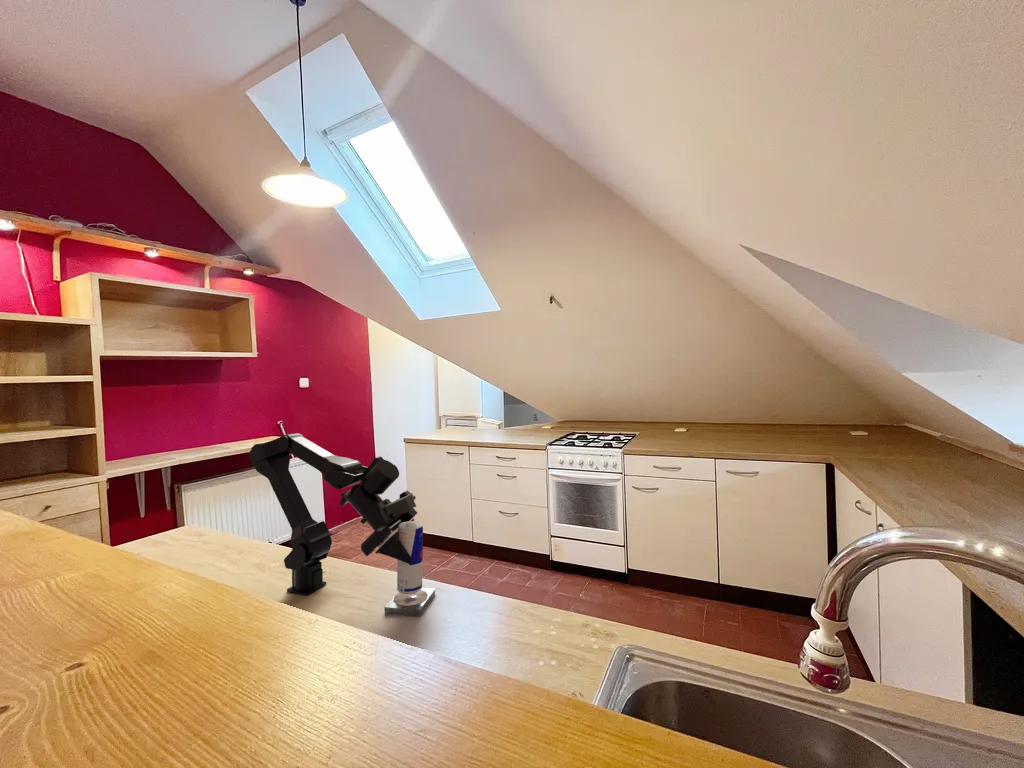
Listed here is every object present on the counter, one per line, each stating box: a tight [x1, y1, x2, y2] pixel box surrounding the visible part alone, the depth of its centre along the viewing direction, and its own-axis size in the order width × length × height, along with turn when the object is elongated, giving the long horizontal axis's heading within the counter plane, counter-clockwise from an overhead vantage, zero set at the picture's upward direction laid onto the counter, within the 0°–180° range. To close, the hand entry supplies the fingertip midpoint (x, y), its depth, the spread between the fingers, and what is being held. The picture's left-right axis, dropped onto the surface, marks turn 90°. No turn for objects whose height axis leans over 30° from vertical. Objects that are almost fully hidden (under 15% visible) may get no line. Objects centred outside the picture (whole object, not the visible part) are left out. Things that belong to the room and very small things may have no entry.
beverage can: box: [396, 520, 424, 594], centre depth 100 cm, size 6×6×15 cm
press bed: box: [384, 587, 436, 618], centre depth 100 cm, size 8×10×2 cm
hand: (415, 557), depth 99 cm, fingers closed on beverage can, 5 cm apart
